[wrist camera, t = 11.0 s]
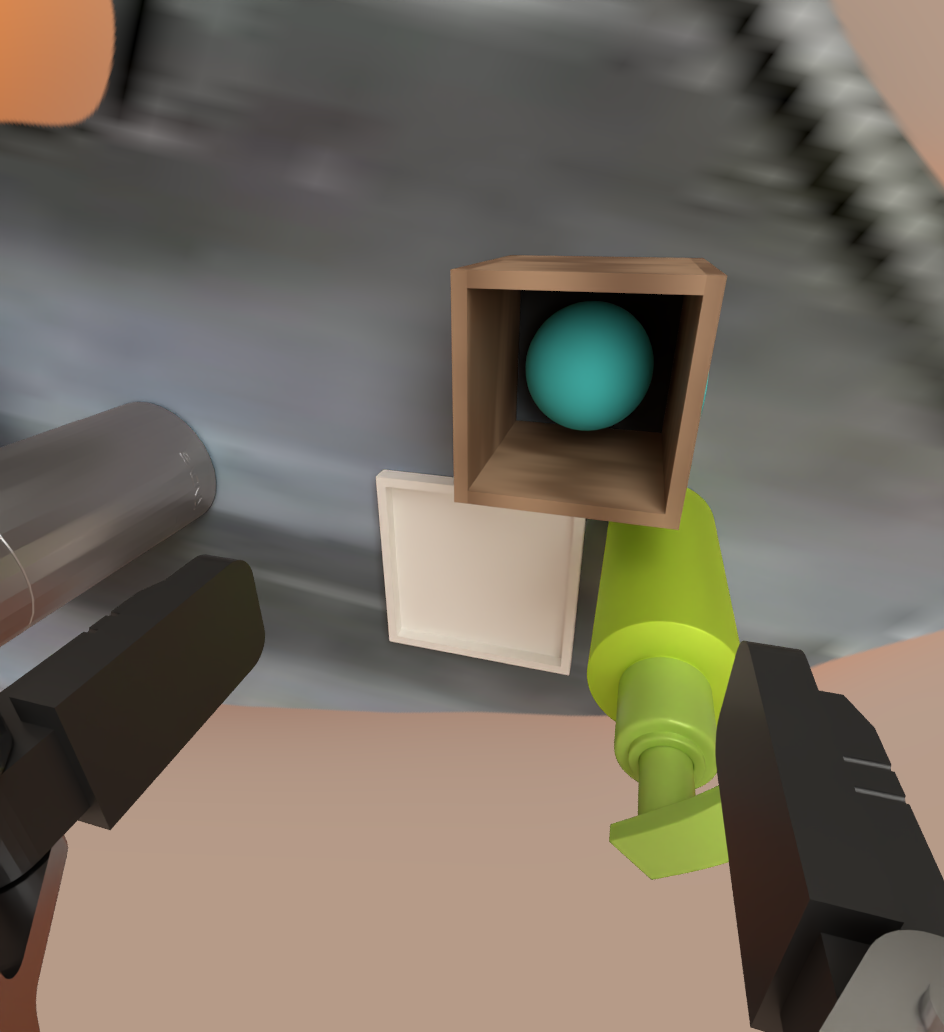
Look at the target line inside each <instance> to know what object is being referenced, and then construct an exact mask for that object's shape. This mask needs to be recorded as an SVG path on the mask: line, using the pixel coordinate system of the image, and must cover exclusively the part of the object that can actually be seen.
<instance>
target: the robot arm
mask: <svg viewBox="0 0 944 1032" xmlns="http://www.w3.org/2000/svg"><path fill="white" fill-rule="evenodd" d="M215 490H216V479H215V471H214V468H213V465H212V461H211V458H210V456H209V454H208V452H207V450H206V448H205V446H204V445H203V443H202V442H201V440H200V439H199V438H198V436H197V435H196V433H195V432H194V431H193V430H192V429H191V428H190V427H189V426H188V425H187V424H186V423H185V422H184V421H183V420H182V419H180V418H179V417H178V416H176V415H175V414H174V413H172V412H170V411H168V410H167V409H165V408H163V407H161V406H158V405H155V404H151V403H147V402H133V403H128V404H125V405H122V406H119V407H116V408H113V409H110V410H107V411H104V412H101V413H99V414H96V415H93V416H90V417H87V418H84V419H81V420H78V421H75V422H72V423H69V424H66V425H63V426H61V427H58V428H55V429H52V430H49V431H46V432H43V433H40V434H38V435H35V436H32V437H29V438H26V439H23V440H20V441H18V442H15V443H12V444H9V445H6V446H3V447H0V647H1V646H2V645H4V644H5V643H7V642H9V641H10V640H12V639H13V638H15V637H16V636H18V635H19V634H21V633H22V632H23V631H25V630H26V629H28V628H30V627H31V626H33V625H34V624H36V623H37V622H39V621H40V620H42V619H43V618H45V617H46V616H48V615H50V614H51V613H53V612H54V611H56V610H57V609H59V608H60V607H62V606H63V605H65V604H66V603H68V602H69V601H71V600H73V599H74V598H76V597H77V596H79V595H80V594H82V593H83V592H85V591H86V590H88V589H89V588H91V587H92V586H94V585H96V584H97V583H99V582H100V581H102V580H103V579H105V578H106V577H108V576H109V575H111V574H112V573H114V572H115V571H117V570H119V569H120V568H122V567H123V566H125V565H126V564H128V563H129V562H131V561H132V560H134V559H135V558H137V557H139V556H140V555H142V554H143V553H145V552H146V551H148V550H149V549H151V548H152V547H154V546H155V545H157V544H158V543H160V542H162V541H163V540H165V539H166V538H168V537H169V536H171V535H173V534H174V533H176V532H177V531H179V530H180V529H182V528H183V527H185V526H186V525H188V524H189V523H191V522H192V521H194V520H195V519H197V518H198V517H200V516H201V515H203V514H204V513H205V512H206V511H207V510H208V509H209V507H210V506H211V505H212V502H213V499H214V496H215ZM264 642H265V630H264V625H263V620H262V616H261V611H260V606H259V601H258V597H257V592H256V587H255V582H254V577H253V573H252V570H251V568H250V566H249V565H248V563H246V562H245V561H243V560H236V559H230V558H223V557H217V556H211V555H200V556H197V557H196V558H194V559H193V560H191V561H190V562H189V563H187V564H186V565H185V566H183V567H182V568H181V569H179V570H178V571H177V572H175V573H174V574H172V575H171V576H170V577H168V578H167V579H166V580H164V581H162V582H160V583H157V584H155V585H153V586H151V587H149V588H146V589H144V590H142V591H140V592H138V593H136V594H135V595H133V596H132V597H131V598H129V599H128V600H127V601H125V602H124V603H122V604H121V605H120V606H118V607H117V608H116V609H114V610H113V611H111V615H110V616H105V617H103V618H102V619H100V620H99V621H98V622H96V623H95V624H94V625H92V626H91V627H89V631H88V632H87V633H86V632H83V633H81V634H80V635H79V636H77V637H76V638H74V639H73V640H72V641H70V642H69V643H68V644H66V645H65V646H63V647H62V648H61V649H59V650H58V651H57V652H55V653H54V654H52V655H51V656H50V657H48V658H47V659H46V660H44V661H43V662H41V663H40V664H39V665H37V666H36V667H35V668H33V669H32V670H30V671H29V672H28V673H26V674H25V675H24V676H22V677H21V678H20V679H18V680H17V681H15V682H14V683H13V684H11V685H10V686H9V687H7V688H6V689H4V690H3V691H2V692H0V1032H40V1029H39V1024H38V1018H37V1012H36V994H37V985H38V980H39V976H40V972H41V967H42V963H43V958H44V954H45V950H46V945H47V941H48V936H49V932H50V927H51V923H52V919H53V914H54V910H55V906H56V901H57V897H58V892H59V888H60V884H61V879H62V875H63V870H64V866H65V862H66V858H67V852H68V844H67V840H66V838H65V836H64V834H65V833H66V832H67V831H68V830H69V829H70V828H71V827H72V826H73V825H74V824H75V822H76V821H77V820H78V821H82V822H85V823H88V824H92V825H95V826H98V827H102V828H105V829H108V830H111V829H112V828H113V827H114V825H115V824H116V823H117V822H118V821H119V820H120V819H121V817H122V816H123V815H124V814H125V813H126V812H127V811H128V810H129V808H130V807H131V806H132V805H133V804H134V803H135V801H136V800H137V799H138V798H139V797H140V796H141V795H142V794H143V793H144V791H145V790H146V789H147V788H148V787H149V786H150V785H151V783H152V782H153V781H154V780H155V779H156V778H157V777H158V775H159V774H160V773H161V772H162V771H163V770H164V769H165V768H166V766H167V765H168V764H169V763H170V762H171V761H172V759H173V758H174V757H175V756H176V755H177V754H178V753H179V752H180V750H181V749H182V748H183V747H184V746H185V745H186V744H187V742H188V741H189V740H190V739H191V738H192V737H193V736H194V735H195V733H196V732H197V731H198V730H199V729H200V728H201V727H202V725H203V724H204V723H205V722H206V721H207V720H208V719H209V718H210V716H211V715H212V714H213V713H214V712H215V711H216V710H217V708H218V707H219V706H220V705H221V704H222V703H223V702H224V700H225V699H226V698H227V697H228V696H229V695H230V694H231V693H232V691H233V690H234V689H235V688H236V687H237V686H238V685H239V683H240V682H241V681H242V680H243V679H244V678H245V677H246V675H247V674H248V673H249V672H250V671H251V670H252V669H253V667H254V666H255V665H256V663H257V662H258V660H259V658H260V656H261V653H262V650H263V647H264ZM715 756H716V767H717V775H718V783H719V790H720V798H721V806H722V813H723V821H724V829H725V836H726V844H727V852H728V859H729V866H730V874H731V882H732V890H733V897H734V905H735V912H736V920H737V928H738V936H739V943H740V950H741V958H742V966H743V974H744V982H745V989H746V997H747V1005H748V1012H749V1020H750V1027H751V1028H755V1029H758V1030H761V1031H764V1032H944V880H943V877H942V875H941V873H940V871H939V869H938V866H937V864H936V862H935V860H934V858H933V855H932V853H931V851H930V849H929V847H928V844H927V842H926V840H925V838H924V835H923V834H922V831H921V829H920V827H919V825H918V822H917V820H916V818H915V816H914V813H913V811H912V809H911V807H910V805H909V804H906V803H905V794H904V791H903V789H902V787H901V785H900V783H899V780H898V778H897V776H896V774H895V772H892V771H891V763H890V761H889V758H888V756H887V754H886V752H885V750H884V748H883V745H882V743H881V741H880V739H879V736H878V734H877V732H876V730H875V728H874V727H873V726H872V725H871V724H870V722H869V721H868V720H867V719H866V718H865V717H864V716H863V715H862V714H861V713H860V712H859V711H858V710H857V709H856V708H855V707H854V706H853V704H852V703H851V702H850V701H849V700H848V699H847V698H846V697H845V696H844V695H841V694H835V693H830V692H824V691H819V690H818V688H817V685H816V682H815V680H814V677H813V674H812V672H811V669H810V666H809V663H808V661H807V658H806V656H805V654H804V653H803V651H801V650H799V649H793V648H786V647H780V646H774V645H767V644H761V643H755V642H748V641H742V642H741V643H740V645H739V647H738V649H737V652H736V656H735V659H734V663H733V667H732V670H731V674H730V678H729V681H728V685H727V689H726V692H725V696H724V700H723V704H722V707H721V711H720V715H719V719H718V724H717V730H716V743H715Z"/></svg>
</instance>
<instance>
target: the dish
mask: <svg viewBox="0 0 944 1032" xmlns="http://www.w3.org/2000/svg"><path fill="white" fill-rule="evenodd" d="M376 484H377V496H378V508H379V520H380V532H381V544H382V556H383V568H384V580H385V592H386V604H387V616H388V628H389V640H390V641H392V642H397V643H402V644H407V645H413V646H418V647H423V648H428V649H434V650H439V651H444V652H449V653H454V654H460V655H465V656H470V657H475V658H481V659H486V660H491V661H496V662H502V663H507V664H512V665H517V666H522V667H528V668H533V669H538V670H543V671H549V672H554V673H559V674H564V675H569V673H570V667H571V660H572V651H573V641H574V632H575V622H576V613H577V603H578V593H579V584H580V574H581V565H582V555H583V545H584V536H585V526H586V518H578V517H570V516H562V515H554V514H546V513H538V512H530V511H522V510H514V509H506V508H498V507H490V506H482V505H474V504H466V503H458V502H454V477H446V476H437V475H428V474H419V473H411V472H402V471H393V470H383V471H381V472H380V473H379V474H378V475H377V476H376Z"/></svg>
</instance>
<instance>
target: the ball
mask: <svg viewBox="0 0 944 1032" xmlns="http://www.w3.org/2000/svg"><path fill="white" fill-rule="evenodd" d="M653 368H654V356H653V350H652V345H651V343H650V340H649V337H648V335H647V333H646V331H645V329H644V328H643V326H642V325H641V324H640V322H639V321H638V320H637V319H636V318H635V317H634V316H633V315H631V314H630V313H629V312H628V311H626V310H624V309H623V308H621V307H619V306H616V305H614V304H611V303H607V302H602V301H584V302H578V303H575V304H572V305H569V306H567V307H565V308H563V309H561V310H559V311H557V312H556V313H554V314H553V315H552V316H550V317H549V318H548V319H547V320H546V321H545V322H544V323H543V324H542V325H541V327H540V328H539V329H538V331H537V332H536V334H535V336H534V338H533V340H532V341H531V344H530V347H529V349H528V353H527V357H526V380H527V385H528V388H529V392H530V394H531V396H532V398H533V400H534V402H535V403H536V405H537V406H538V407H539V409H540V410H541V411H542V412H543V413H544V414H545V415H546V416H547V417H548V418H550V419H551V420H552V421H554V422H556V423H558V424H559V425H562V426H564V427H567V428H570V429H574V430H581V431H591V430H599V429H603V428H607V427H609V426H612V425H614V424H616V423H618V422H620V421H621V420H623V419H624V418H626V417H627V416H628V415H629V414H631V413H632V412H633V411H634V410H635V409H636V408H637V406H638V405H639V404H640V403H641V401H642V400H643V398H644V397H645V395H646V393H647V391H648V389H649V386H650V383H651V380H652V375H653Z"/></svg>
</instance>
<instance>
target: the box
mask: <svg viewBox="0 0 944 1032" xmlns="http://www.w3.org/2000/svg"><path fill="white" fill-rule="evenodd" d="M726 279H727V275H726V274H724V273H723V272H721V271H720V270H719V269H717V268H716V267H715V266H713V265H712V264H711V263H709V262H708V261H706V260H705V259H704V258H656V257H590V256H524V255H510V256H505V257H501V258H497V259H493V260H489V261H485V262H480V263H476V264H472V265H468V266H464V267H459V268H455V269H451V327H452V392H453V457H454V502H458V503H466V504H474V505H482V506H490V507H498V508H506V509H514V510H522V511H530V512H538V513H546V514H554V515H562V516H570V517H578V518H586V519H594V520H602V521H610V522H618V523H626V524H634V525H642V526H650V527H658V528H666V529H675V530H679V526H680V521H681V516H682V510H683V505H684V500H685V495H686V489H687V484H688V479H689V474H690V468H691V463H692V458H693V453H694V447H695V442H696V437H697V431H698V426H699V421H700V417H701V413H702V410H703V405H704V401H705V396H706V390H707V383H708V376H709V368H710V363H711V358H712V353H713V347H714V342H715V337H716V332H717V326H718V321H719V316H720V311H721V305H722V300H723V295H724V290H725V284H726ZM521 290H546V291H579V292H612V293H646V294H679V295H684V297H683V303H682V310H681V316H680V322H679V328H678V335H677V341H676V347H675V353H674V360H673V366H672V372H671V378H670V384H669V391H668V397H667V403H666V409H665V416H664V422H663V428H662V433H657V432H645V431H634V430H622V429H610V428H603V429H599V430H591V431H581V430H574V429H570V428H567V427H564V426H562V425H559V424H552V423H541V422H529V421H517V420H516V409H517V382H518V355H519V328H520V301H521Z"/></svg>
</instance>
